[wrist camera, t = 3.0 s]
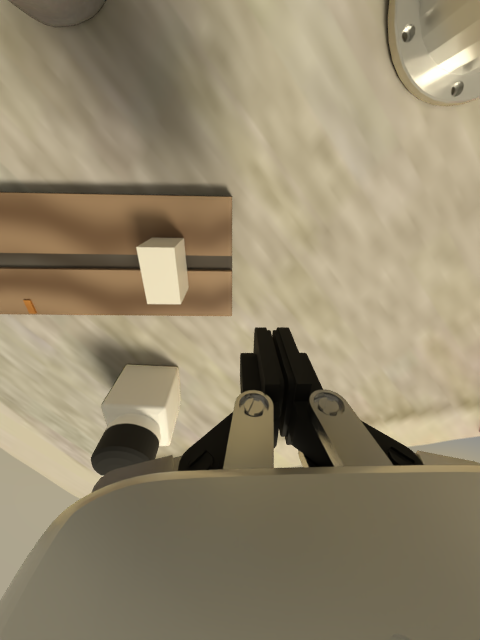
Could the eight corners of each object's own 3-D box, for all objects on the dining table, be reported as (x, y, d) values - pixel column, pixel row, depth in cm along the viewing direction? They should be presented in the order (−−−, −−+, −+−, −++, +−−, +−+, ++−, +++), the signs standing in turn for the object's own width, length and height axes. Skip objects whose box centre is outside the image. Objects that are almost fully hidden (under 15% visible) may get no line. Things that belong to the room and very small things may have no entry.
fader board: (-74, 190, 22) (-97, 190, 20) (231, 196, 22) (231, 197, 21) (-9, 307, 28) (-22, 314, 26) (231, 310, 28) (231, 316, 27)
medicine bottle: (125, 363, 32) (71, 449, 22) (178, 365, 32) (151, 451, 22) (133, 400, 35) (90, 489, 25) (181, 402, 36) (158, 491, 25)
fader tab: (153, 236, 23) (136, 247, 19) (184, 237, 23) (174, 247, 19) (161, 285, 25) (147, 304, 21) (189, 285, 25) (180, 304, 21)
